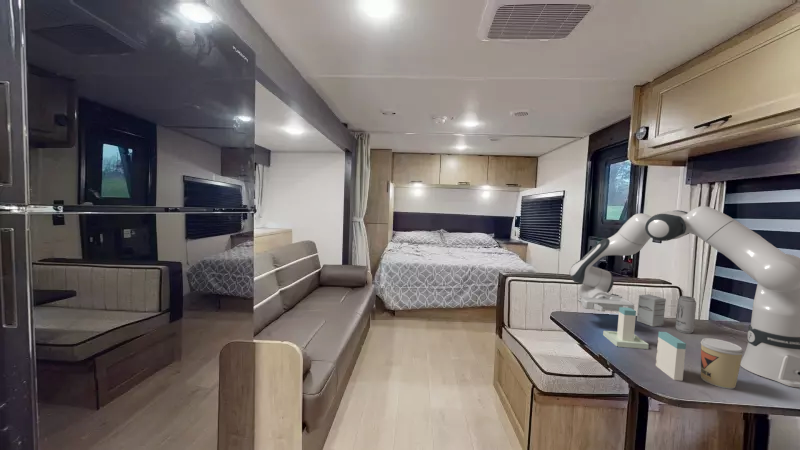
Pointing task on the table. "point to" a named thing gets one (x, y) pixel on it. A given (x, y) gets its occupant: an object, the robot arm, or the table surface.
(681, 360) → the teal and white box
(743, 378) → the table surface
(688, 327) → the energy drink can
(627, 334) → the white teal-topped block
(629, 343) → the tray
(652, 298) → the supplement box
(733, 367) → the coffee cup
